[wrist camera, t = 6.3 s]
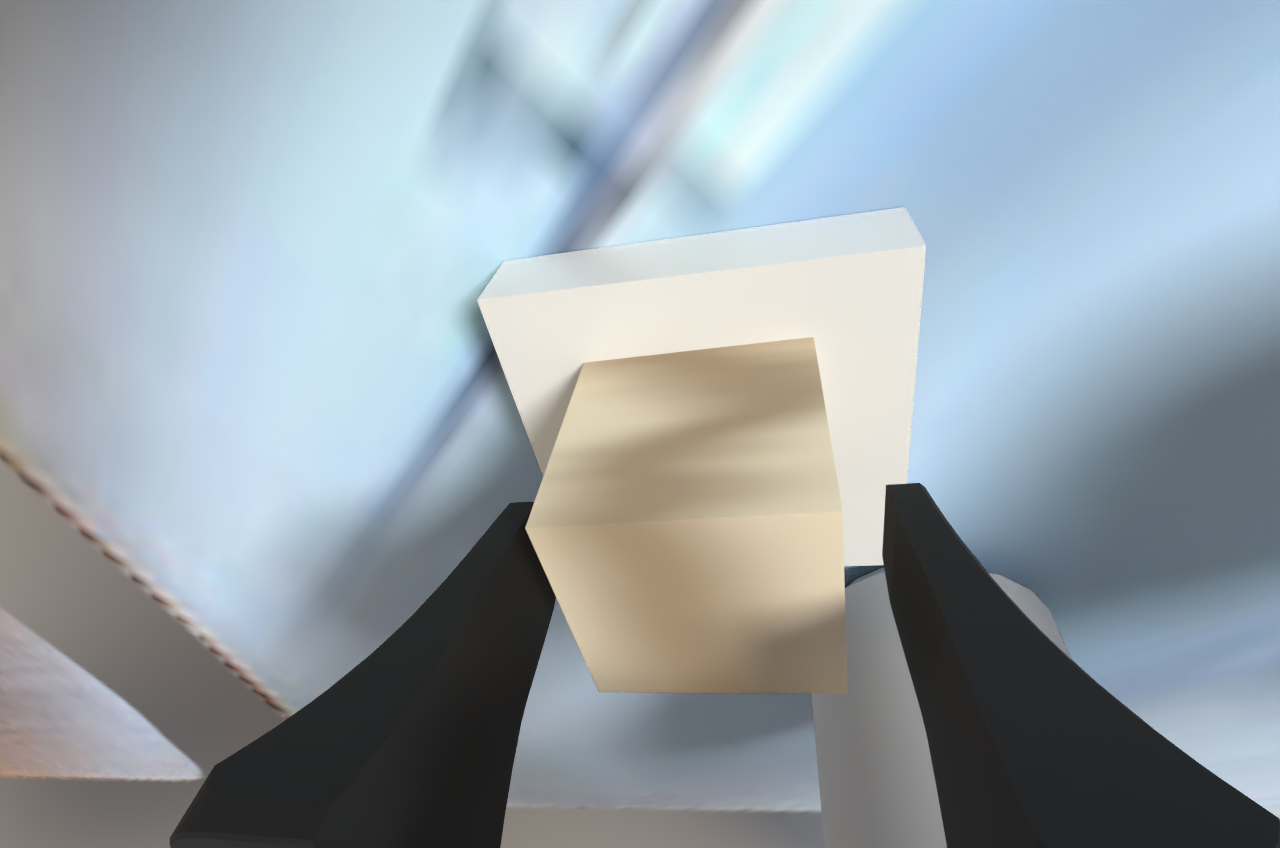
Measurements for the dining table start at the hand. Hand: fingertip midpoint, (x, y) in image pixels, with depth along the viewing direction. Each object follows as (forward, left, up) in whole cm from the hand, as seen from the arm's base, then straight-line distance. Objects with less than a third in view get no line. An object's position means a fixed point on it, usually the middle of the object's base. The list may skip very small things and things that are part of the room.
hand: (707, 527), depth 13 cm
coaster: (0, 0, -5) cm, 5 cm away
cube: (0, 0, -3) cm, 3 cm away
